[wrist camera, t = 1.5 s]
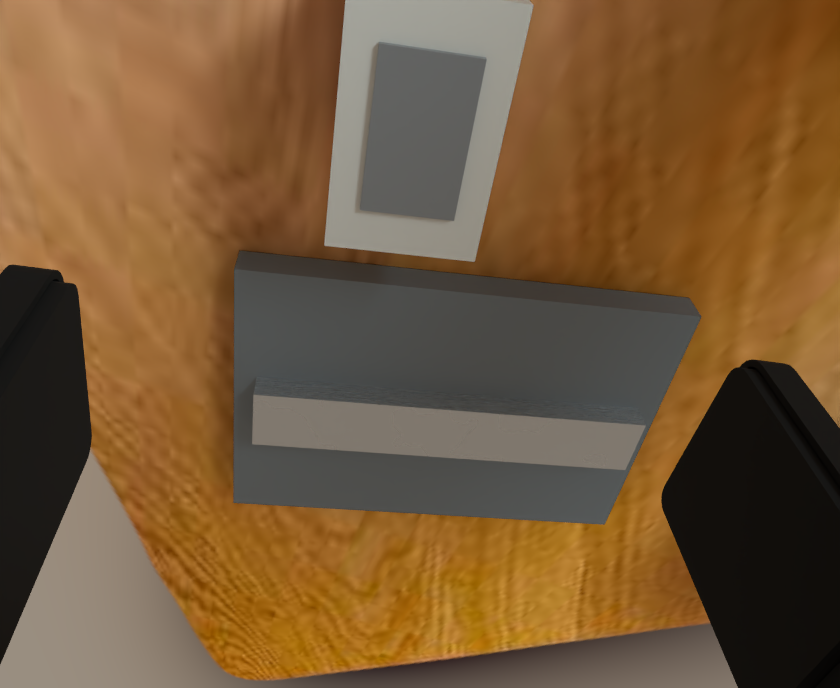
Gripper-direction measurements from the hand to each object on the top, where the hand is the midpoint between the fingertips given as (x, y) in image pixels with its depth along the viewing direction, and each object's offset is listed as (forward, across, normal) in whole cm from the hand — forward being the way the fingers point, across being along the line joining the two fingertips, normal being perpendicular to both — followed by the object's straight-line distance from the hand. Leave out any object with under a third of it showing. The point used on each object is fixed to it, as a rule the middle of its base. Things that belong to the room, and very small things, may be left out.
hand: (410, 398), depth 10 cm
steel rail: (+17, -6, +16) cm, 24 cm away
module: (+19, -1, +1) cm, 19 cm away
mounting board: (+19, -6, +16) cm, 25 cm away
